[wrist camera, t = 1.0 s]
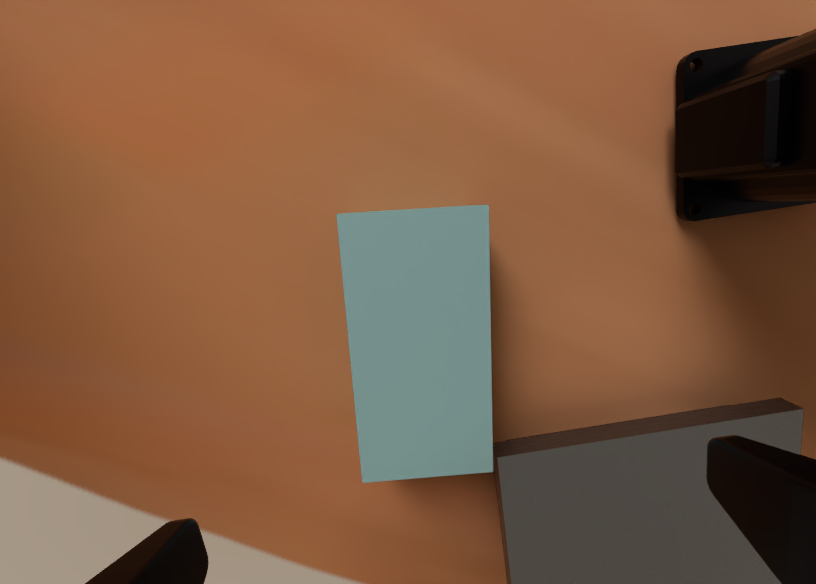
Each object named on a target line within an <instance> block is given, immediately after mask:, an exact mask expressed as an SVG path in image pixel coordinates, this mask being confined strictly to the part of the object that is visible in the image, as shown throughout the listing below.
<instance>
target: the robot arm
mask: <svg viewBox="0 0 816 584" xmlns="http://www.w3.org/2000/svg"><path fill="white" fill-rule="evenodd" d="M691 62H692V63H693V64H694V65H695V71H694V72H693V71H692V70H691V69H690V64H691ZM676 173H677V215H678V216H679V218H680V219H682V220H687V221H697V220H704V219H710V218H717V217H724V216H730V215H737V214H743V213H750V212H756V211H763V210H769V209H776V208H782V207H789V206H795V205H802V204H809V203H815V202H816V29H814V30H812V31H809V32H807V33H805V34H802V35H800V36H795V37H788V38H781V39H774V40H768V41H761V42H754V43H747V44H741V45H734V46H727V47H720V48H714V49H707V50H700V51H695V52H693V53H690V54H689V55H687V56H685V57H683V58H682V59H681V60H680V61H679V63H678V65H677V70H676ZM692 204H693V206H694V210H693V212H692V213H690V212H689V208H690V206H691V205H692ZM706 478H707V483H708V486H709V489H710V491H711V493H712V494H713V496H714V497H715V498H716V500H717V501H718V502H719V504H720V505H721V506H722V508H723V509H724V510H725V511H726V513H727V514H728V515H729V517H730V518H731V519H732V521H733V522H734V523H735V524H736V526H737V527H738V528H739V530H740V531H741V532H742V534H743V535H744V536H745V537H746V539H747V540H748V541H749V543H750V544H751V545H752V547H753V548H754V549H755V550H756V552H757V553H758V554H759V556H760V557H761V558H762V560H763V561H764V562H765V564H766V565H767V566H768V567H769V569H770V570H771V571H772V573H773V574H774V575H775V576H776V578H777V579H778V580H779V581H780V582H781V584H816V460H815V459H812V458H809V457H806V456H803V455H799V454H796V453H793V452H790V451H786V450H783V449H780V448H777V447H774V446H770V445H767V444H764V443H761V442H757V441H754V440H751V439H748V438H745V437H741V436H738V435H728V436H722V437H715V438H712V439H711V440H709V442H708V444H707V473H706ZM207 570H208V555H207V552H206V548H205V545H204V542H203V539H202V535H201V532H200V529H199V526H198V523H197V522H196V521H195V520H194V519H191V518H188V519H181V520H175V521H170V522H168V523H166V524H165V525H163V526H162V527H161V528H159V529H158V530H157V531H155V532H154V533H153V534H151V535H150V536H149V537H147V538H146V539H144V540H143V541H142V542H140V543H139V544H138V545H137V546H135V547H134V548H132V549H131V550H130V551H128V552H127V553H126V554H124V555H123V556H122V557H120V558H119V559H118V560H116V561H115V562H114V563H112V564H111V565H109V566H108V567H107V568H105V569H104V570H103V571H102V572H100V573H99V574H97V575H96V576H95V577H93V578H92V579H91V580H89V581H88V582H87V583H85V584H204V581H205V577H206V574H207Z"/></svg>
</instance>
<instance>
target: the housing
mask: <svg viewBox="0 0 816 584" xmlns="http://www.w3.org/2000/svg"><path fill="white" fill-rule="evenodd" d="M337 225H338V235H339V246H340V256H341V266H342V277H343V287H344V297H345V308H346V318H347V328H348V339H349V349H350V360H351V370H352V380H353V391H354V401H355V411H356V422H357V432H358V442H359V453H360V463H361V473H362V483H365V482H378V481H390V480H402V479H414V478H426V477H438V476H450V475H462V474H474V473H487V472H493V434H492V372H491V311H490V249H489V205H471V206H454V207H437V208H421V209H405V210H389V211H372V212H356V213H343V214H337Z"/></svg>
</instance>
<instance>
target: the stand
mask: <svg viewBox="0 0 816 584" xmlns="http://www.w3.org/2000/svg"><path fill="white" fill-rule="evenodd" d="M803 413H804V409H803V408H801V407H799V406H797V405H795V404H793V403H791V402H789V401H787V400H784V399H782V398H775V399H769V400H762V401H756V402H750V403H743V404H737V405H731V406H730V405H726V406H719V407H713V408H707V409H700V410H694V411H688V412H681V413H675V414H669V415H663V416H656V417H650V418H644V419H637V420H631V421H625V422H618V423H612V424H606V425H599V426H593V427H587V428H580V429H574V430H568V431H561V432H555V433H549V434H542V435H536V436H530V437H523V438H517V439H511V440H506V441H503V442H497V443H493V464H494V472H495V481H496V490H497V499H498V507H499V516H500V525H501V534H502V542H503V551H504V560H505V569H506V577H507V584H781V582H780V581H779V580H778V579H777V578H776V576H775V575H774V574H773V573H772V571H771V570H770V569H769V567H768V566H767V565H766V564H765V562H764V561H763V560H762V558H761V557H760V556H759V554H758V553H757V552H756V550H755V549H754V548H753V547H752V545H751V544H750V543H749V541H748V540H747V539H746V537H745V536H744V535H743V534H742V532H741V531H740V530H739V528H738V527H737V526H736V524H735V523H734V522H733V521H732V519H731V518H730V517H729V515H728V514H727V513H726V511H725V510H724V509H723V508H722V506H721V505H720V504H719V502H718V501H717V500H716V498H715V497H714V496H713V494H712V493H711V491H710V489H709V486H708V483H707V478H706V473H707V444H708V442H709V440H711V439H712V438H715V437H722V436H728V435H738V436H741V437H745V438H748V439H751V440H754V441H757V442H761V443H764V444H767V445H770V446H774V447H777V448H780V449H783V450H786V451H790V452H793V453H796V454H799V455H800V453H801V439H802V426H803Z"/></svg>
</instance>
